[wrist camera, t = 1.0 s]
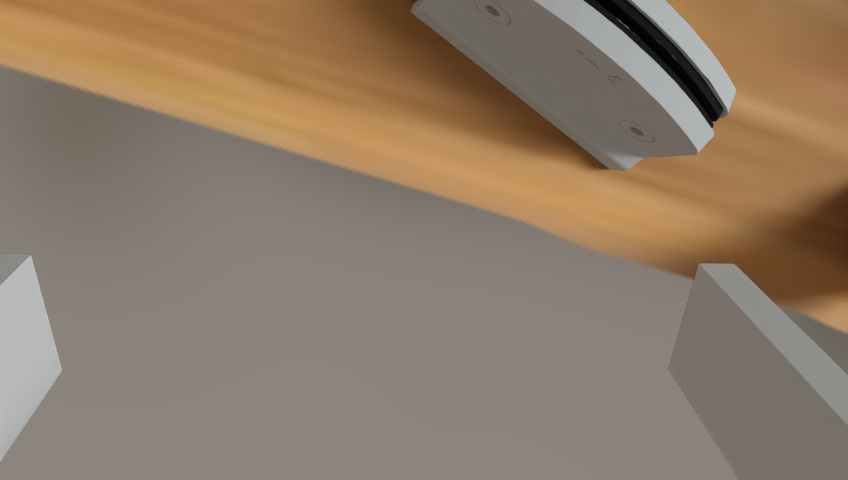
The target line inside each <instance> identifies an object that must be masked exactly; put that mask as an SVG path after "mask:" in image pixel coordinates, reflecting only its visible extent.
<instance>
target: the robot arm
mask: <svg viewBox="0 0 848 480" xmlns="http://www.w3.org/2000/svg"><path fill="white" fill-rule="evenodd" d="M668 370H669V371H670V373H671V374H672V376H673V378H674V379H675V381H676V382H677V384H678V385H679V387H680V389H681V390H682V392H683V393H684V395H685V396H686V398H687V400H688V401H689V403H690V404H691V406H692V408H693V409H694V411H695V412H696V414H697V415H698V417H699V418H700V420H701V421H702V423H703V425H704V426H705V428H706V429H707V431H708V433H709V434H710V436H711V437H712V439H713V440H714V442H715V444H716V445H717V447H718V448H719V450H720V451H721V453H722V454H723V456H724V458H725V459H726V461H727V462H728V464H729V466H730V467H731V469H732V470H733V472H734V473H735V475H736V476H737V478H738V479H739V480H848V375H847V374H846V373H845V372H844V371H843V370H842V369H841V368H840V367H839V366H838V365H837V364H836V363H835V362H834V361H833V360H832V359H831V358H830V357H829V356H828V355H827V354H826V353H824V352H823V351H822V350H821V349H820V348H819V347H818V346H817V345H816V344H815V343H814V342H813V341H812V340H811V339H810V338H809V337H808V336H807V335H806V334H805V333H804V332H803V331H802V330H801V329H800V328H799V327H798V326H797V325H796V324H795V323H794V322H793V321H792V320H791V319H790V318H789V317H788V316H787V315H786V314H785V313H784V312H783V311H782V310H781V309H780V308H779V307H778V306H777V305H776V304H775V303H774V302H773V301H772V300H771V299H770V298H769V297H768V296H767V295H766V294H765V293H764V292H763V291H762V290H761V289H760V288H759V287H758V286H756V285H755V284H754V283H753V282H752V281H751V280H750V279H749V278H748V277H747V276H746V275H745V274H744V273H743V272H742V271H741V270H740V269H739V268H738V267H737V266H736V265H735V264H716V263H699V265H698V268H697V272H696V275H695V279H694V282H693V285H692V289H691V292H690V296H689V299H688V302H687V306H686V309H685V313H684V316H683V319H682V323H681V326H680V330H679V333H678V336H677V340H676V343H675V347H674V350H673V353H672V357H671V360H670V364H669V367H668ZM61 371H62V369H61V365H60V361H59V358H58V354H57V350H56V347H55V343H54V339H53V336H52V332H51V328H50V324H49V320H48V317H47V313H46V310H45V306H44V302H43V298H42V295H41V291H40V287H39V283H38V280H37V276H36V272H35V269H34V265H33V261H32V257H31V255H1V254H0V461H1V460H2V458H3V457H4V455H5V454H6V452H7V451H8V449H9V448H10V446H11V445H12V443H13V442H14V441H15V439H16V438H17V436H18V435H19V433H20V432H21V430H22V429H23V427H24V426H25V424H26V423H27V421H28V420H29V418H30V417H31V415H32V414H33V412H34V411H35V410H36V408H37V407H38V405H39V404H40V402H41V400H42V399H43V397H44V396H45V395H46V393H47V392H48V390H49V389H50V387H51V386H52V384H53V383H54V382H55V380H56V378H57V377H58V375H59V374H60V373H61Z"/></svg>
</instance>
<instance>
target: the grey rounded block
mask: <svg viewBox="0 0 848 480" xmlns="http://www.w3.org/2000/svg"><path fill="white" fill-rule="evenodd" d="M410 12H411V13H412V14H413V15H415V16H416V17H417V18H419V19H420V20H421V21H422V22H424V23H425V24H426V25H427V26H429V27H430V28H431V29H432V30H434V31H435V32H436V33H437V34H439V35H440V36H441V37H443V38H444V39H445V40H446V41H448V42H449V43H450V44H451V45H453V46H454V47H455V48H456V49H458V50H459V51H460V52H462V53H463V54H464V55H465V56H467V57H468V58H469V59H470V60H472V61H473V62H474V63H475V64H477V65H478V66H479V67H481V68H482V69H483V70H484V71H486V72H487V73H488V74H489V75H491V76H492V77H493V78H494V79H496V80H497V81H498V82H500V83H501V84H502V85H503V86H505V87H506V88H507V89H508V90H510V91H511V92H512V93H513V94H515V95H516V96H517V97H519V98H520V99H521V100H522V101H524V102H525V103H526V104H527V105H529V106H530V107H531V108H532V109H534V110H535V111H536V112H538V113H539V114H540V115H541V116H543V117H544V118H545V119H546V120H548V121H549V122H550V123H551V124H553V125H554V126H555V127H557V128H558V129H559V130H560V131H562V132H563V133H564V134H565V135H567V136H568V137H569V138H570V139H572V140H573V141H574V142H576V143H577V144H578V145H579V146H581V147H582V148H583V149H584V150H586V151H587V152H588V153H589V154H591V155H592V156H593V157H595V158H596V159H597V160H598V161H600V162H601V163H602V164H603V165H605V166H606V167H607V168H608V169H611V170H619V171H626V170H628V169H629V168H631V167H632V166H633V165H635V164H636V163H638V162H639V161H641V160H642V159H644V158H646V157H664V156H682V155H696V154H697V153H698V152H699V151H700V150H701V149H702V148H703V147H704V146H705V145H706V144H707V143H708V142H709V141H710V139H711V138H712V137H713V136H714V132H713V130H712V128H713V121H717V120H718V119H719V118H722V117H725V116H727V115H728V112H729V109H730V107H731V104H732V101H733V99H734V96H735V93H736V90H735V87H734V86H733V84H732V82H731V80H730V79H729V77H728V75H727V73H726V72H725V70H724V69H723V67H722V66H721V64H720V63H719V61H718V60H717V58H716V57H715V56H714V55H713V53H712V52H711V51H710V50H709V48H708V47H707V46H706V44H705V43H704V42H703V41H702V40H701V38H700V37H699V36H698V35H697V33H696V32H695V31H694V30H693V29H692V27H691V26H690V25H689V24H688V23H687V22H686V21H685V20H684V19H683V18H682V17H681V16H680V15H679V14H678V13H677V12H676V11H675V10H674V9H673V8H672V7H671V6H670V5H669V4H668V3H667V2H666V1H665V0H418V1H416V2H415V3H414V4H413V6H412V8H411V10H410Z"/></svg>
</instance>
